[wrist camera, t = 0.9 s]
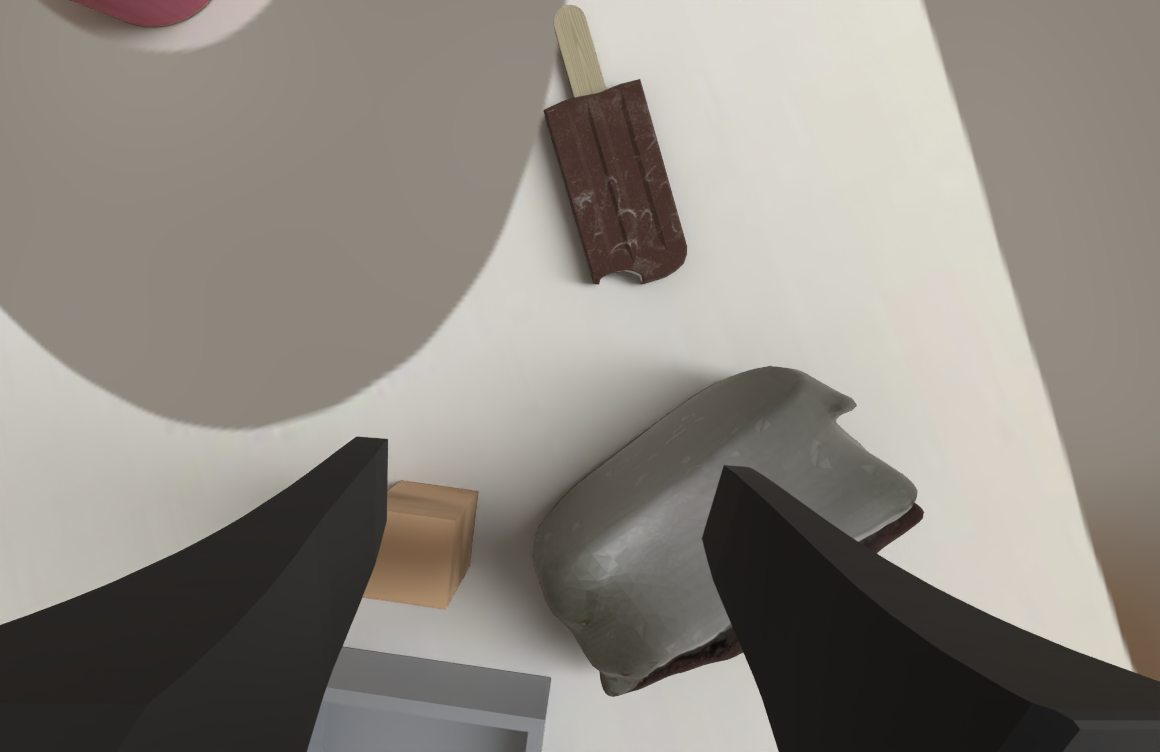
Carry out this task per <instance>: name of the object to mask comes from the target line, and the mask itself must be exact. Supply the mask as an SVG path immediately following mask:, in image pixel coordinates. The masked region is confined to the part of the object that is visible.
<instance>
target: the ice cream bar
mask: <svg viewBox="0 0 1160 752" xmlns="http://www.w3.org/2000/svg"><path fill="white" fill-rule="evenodd" d="M554 27H555V33H556V37H557V40H558V44H559V47H560V51H561V54H562V58H563V61H564V64H565V68H566V71H567V75H568V78H569V82H570V85H571V89H572V92H573V96H574V98H572V99H569V100H565V101H562V102H560V103H558V104H556V105H554V106H551V107H549V108H547V109H545V110H544V114H545V118H546V121H547V125H548V128H549V132H550V135H551V139H552V142H553V145H554V149H555V152H556V156H557V159H558V162H559V166H560V169H561V173H562V176H563V180H564V183H565V186H566V190H567V193H568V197H569V200H570V204H571V207H572V210H573V214H574V217H575V221H576V224H577V228H578V231H579V234H580V238H581V241H582V245H583V248H584V251H585V255H586V258H587V262H588V265H589V269H590V272H591V275H592V279H593V282H594V283H596V284H599V282H600V279H601V278H602V277H604V276H605V275H608V274H611V273H615V272H623V271H625V272H630V273H633V274H636V275H637V276H639V277H640V280H641V284H646V283H649V282H652V281H655V280H659V279H662V278H664V277H667V276H668V275H670V274H672V273H673V272H675V271H676V270H677V269H678V268H680V267H681V266H682V265H683V264H684V261H685V258H686V255H687V245H686V241H685V237H684V234H683V230H682V227H681V223H680V220H679V216H678V213H677V209H676V205H675V202H674V198H673V195H672V191H671V188H670V184H669V180H668V177H667V173H666V170H665V166H664V163H663V159H662V155H661V152H660V148H659V145H658V141H657V138H656V134H655V130H654V127H653V123H652V120H651V116H650V113H649V109H648V106H647V102H646V98H645V95H644V91H643V88H642V84H641V81H640V79H639V80H635V81H631V82H627V83H623V84H619V85H617V86H614V87H612V88H609V89H607V90H606V87H605V84H604V80H603V77H602V73H601V70H600V66H599V63H598V59H597V56H596V52H595V49H594V45H593V42H592V38H591V35H590V31H589V28H588V24H587V21H586V17H585V15H584V13H583V11H582V10H581V9H580V8H578V7H577V6H574V5H566V6H564V7H562V8H560V9H559V10H558V11H557V13H556V15H555V17H554Z"/></svg>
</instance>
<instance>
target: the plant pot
mask: <svg viewBox="0 0 1160 752" xmlns="http://www.w3.org/2000/svg"><path fill="white" fill-rule="evenodd" d="M70 1H73V2H76V3H78V4H81V5H84V6H86V7H89V8H92V9H94V10H97V11H100V12H103V13H105V14H108V15H111V16H113V17H115V18H118V19H120V20H123V21H125V22H128V23H132V24H136V25H141V26H151V27H157V26H166V25H170V24H175V23H178V22H180V21H183V20H185V19H187V18H189V17H191V16H192V15H194V14H196V13H197V12H198V11H199V10H201V9H202V8H203V7H204V6H205V5H206V4H207V3H209V1H210V0H70Z"/></svg>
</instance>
